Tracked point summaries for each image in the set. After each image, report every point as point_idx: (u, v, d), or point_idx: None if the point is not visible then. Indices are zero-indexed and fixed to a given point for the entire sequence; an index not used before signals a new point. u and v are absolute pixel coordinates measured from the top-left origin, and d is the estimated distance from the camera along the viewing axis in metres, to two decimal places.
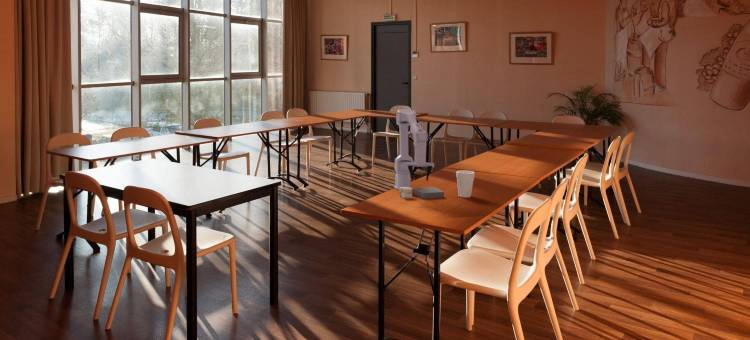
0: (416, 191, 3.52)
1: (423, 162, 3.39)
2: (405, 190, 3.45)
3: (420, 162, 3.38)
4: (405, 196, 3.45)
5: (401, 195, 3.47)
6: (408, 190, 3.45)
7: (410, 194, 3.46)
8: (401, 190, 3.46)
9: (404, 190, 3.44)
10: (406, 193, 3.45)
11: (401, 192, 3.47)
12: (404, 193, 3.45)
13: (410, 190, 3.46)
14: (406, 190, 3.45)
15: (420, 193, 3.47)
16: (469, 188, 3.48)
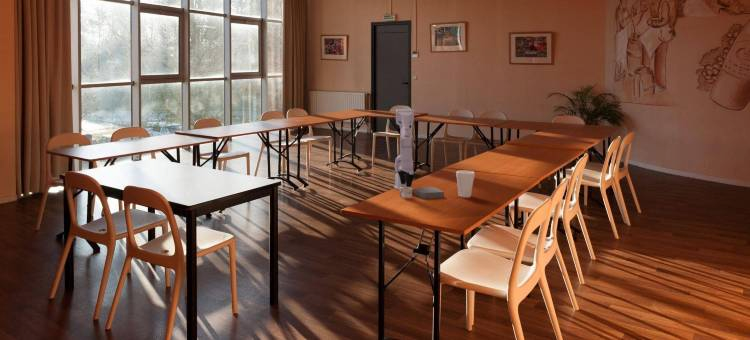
0: (416, 191, 3.52)
1: (403, 167, 3.43)
2: (405, 190, 3.45)
3: (401, 167, 3.44)
4: (405, 196, 3.45)
5: (401, 195, 3.47)
6: (408, 190, 3.45)
7: (410, 194, 3.46)
8: (401, 190, 3.46)
9: (404, 190, 3.44)
10: (406, 193, 3.45)
11: (401, 192, 3.47)
12: (404, 193, 3.45)
13: (410, 190, 3.46)
14: (406, 190, 3.45)
15: (420, 193, 3.47)
16: (469, 188, 3.48)
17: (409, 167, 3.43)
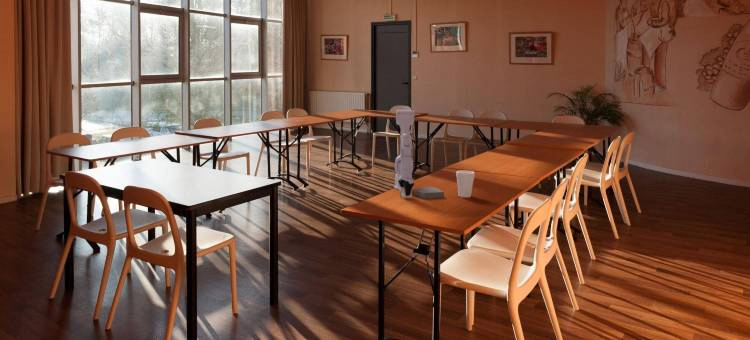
0: (416, 191, 3.52)
1: (403, 176, 3.44)
2: None
3: (401, 176, 3.45)
4: (405, 196, 3.45)
5: (401, 195, 3.47)
6: None
7: (410, 194, 3.46)
8: (401, 190, 3.46)
9: (404, 190, 3.44)
10: None
11: (401, 192, 3.47)
12: (404, 193, 3.45)
13: None
14: None
15: (420, 193, 3.47)
16: (469, 188, 3.48)
17: (409, 176, 3.44)
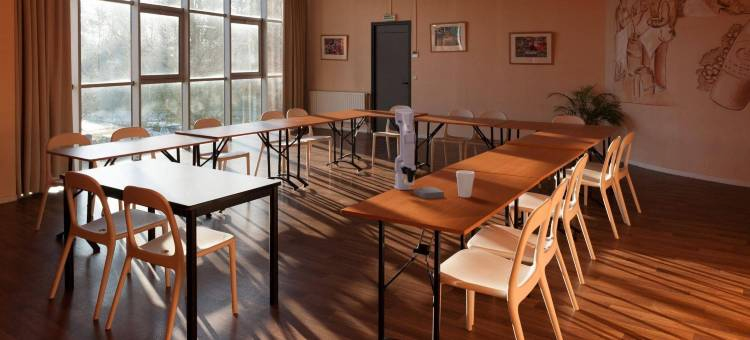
0: (416, 191, 3.52)
1: (405, 163, 3.43)
2: (407, 177, 3.44)
3: (403, 162, 3.44)
4: (407, 183, 3.44)
5: (403, 182, 3.46)
6: None
7: None
8: (403, 177, 3.46)
9: (406, 177, 3.43)
10: None
11: (403, 179, 3.46)
12: (406, 180, 3.44)
13: None
14: None
15: (420, 193, 3.47)
16: (469, 188, 3.48)
17: (411, 163, 3.43)
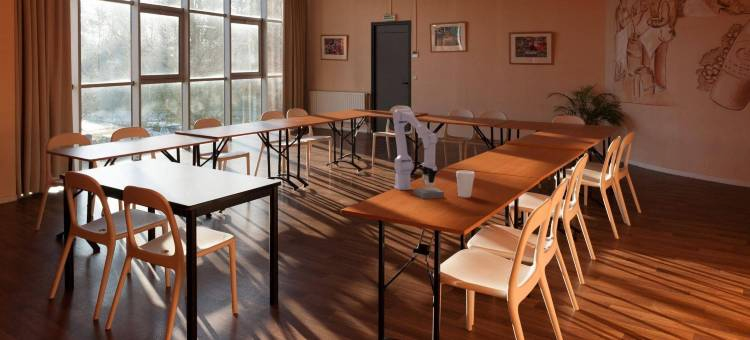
0: (416, 191, 3.52)
1: (426, 164, 3.46)
2: (428, 177, 3.47)
3: (424, 163, 3.48)
4: (428, 183, 3.48)
5: (424, 182, 3.50)
6: None
7: None
8: (424, 177, 3.49)
9: (427, 177, 3.47)
10: None
11: (424, 179, 3.49)
12: (427, 180, 3.47)
13: None
14: None
15: (420, 193, 3.47)
16: (469, 188, 3.48)
17: (432, 163, 3.46)
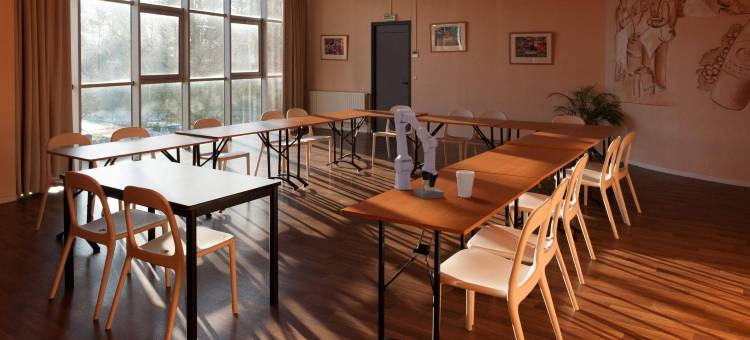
0: (416, 191, 3.52)
1: (426, 168, 3.47)
2: (428, 183, 3.48)
3: (424, 167, 3.48)
4: (428, 189, 3.48)
5: (424, 188, 3.50)
6: None
7: (433, 187, 3.49)
8: (424, 183, 3.50)
9: (427, 183, 3.48)
10: (429, 186, 3.48)
11: (424, 185, 3.50)
12: (427, 186, 3.48)
13: None
14: None
15: (420, 193, 3.47)
16: (469, 188, 3.48)
17: (432, 167, 3.47)
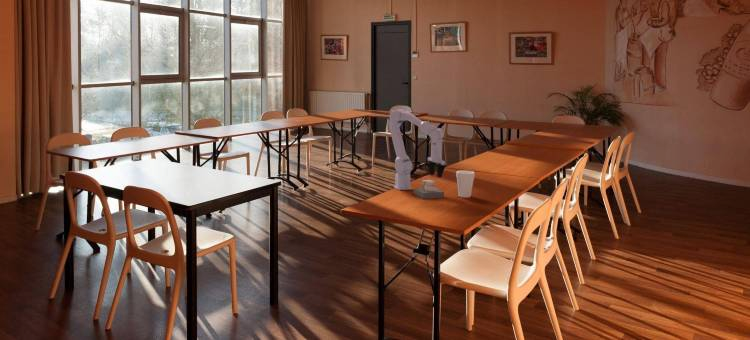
0: (416, 191, 3.52)
1: (434, 158, 3.52)
2: (428, 183, 3.48)
3: (431, 158, 3.53)
4: (428, 189, 3.48)
5: (424, 188, 3.50)
6: (431, 183, 3.48)
7: (433, 187, 3.49)
8: (424, 183, 3.50)
9: (427, 183, 3.48)
10: (429, 186, 3.48)
11: (424, 185, 3.50)
12: (427, 186, 3.48)
13: (433, 183, 3.49)
14: (429, 183, 3.48)
15: (420, 193, 3.47)
16: (469, 188, 3.48)
17: (440, 158, 3.52)
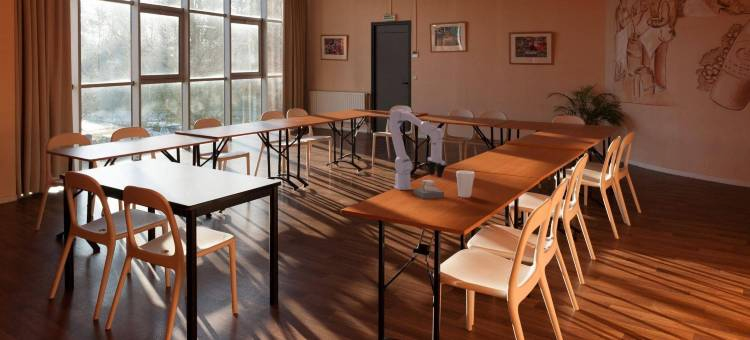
0: (416, 191, 3.52)
1: (434, 158, 3.52)
2: (428, 183, 3.48)
3: (431, 158, 3.53)
4: (428, 189, 3.48)
5: (424, 188, 3.50)
6: (431, 183, 3.48)
7: (433, 187, 3.49)
8: (424, 183, 3.50)
9: (427, 183, 3.48)
10: (429, 186, 3.48)
11: (424, 185, 3.50)
12: (427, 186, 3.48)
13: (433, 183, 3.49)
14: (429, 183, 3.48)
15: (420, 193, 3.47)
16: (469, 188, 3.48)
17: (440, 158, 3.52)
